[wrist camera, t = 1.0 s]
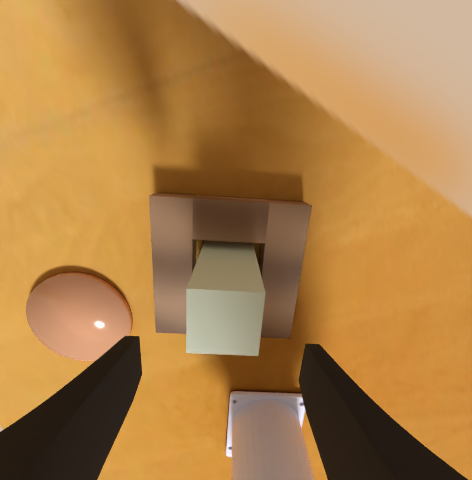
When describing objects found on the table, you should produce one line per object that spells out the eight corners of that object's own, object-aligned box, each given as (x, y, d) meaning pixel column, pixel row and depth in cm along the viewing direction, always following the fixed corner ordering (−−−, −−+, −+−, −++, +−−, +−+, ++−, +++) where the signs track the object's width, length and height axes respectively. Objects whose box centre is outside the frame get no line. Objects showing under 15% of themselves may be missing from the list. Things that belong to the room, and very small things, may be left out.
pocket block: (285, 323, 22) (290, 338, 20) (162, 317, 21) (156, 332, 20) (303, 201, 18) (311, 205, 16) (158, 192, 18) (149, 195, 16)
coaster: (135, 358, 23) (133, 363, 22) (41, 354, 23) (36, 358, 22) (128, 274, 20) (125, 278, 20) (22, 269, 20) (15, 272, 19)
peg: (249, 286, 21) (258, 356, 13) (203, 283, 20) (186, 352, 13) (252, 243, 19) (265, 292, 12) (204, 240, 19) (186, 288, 12)
